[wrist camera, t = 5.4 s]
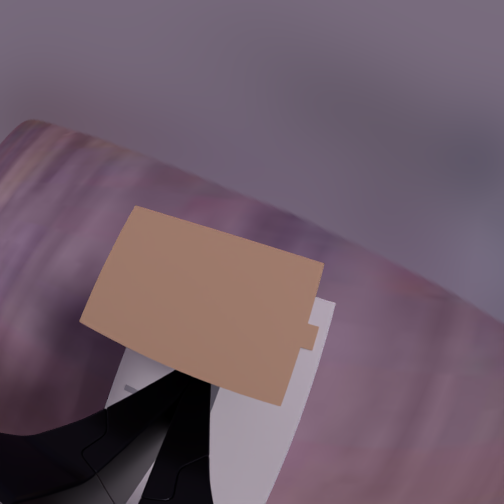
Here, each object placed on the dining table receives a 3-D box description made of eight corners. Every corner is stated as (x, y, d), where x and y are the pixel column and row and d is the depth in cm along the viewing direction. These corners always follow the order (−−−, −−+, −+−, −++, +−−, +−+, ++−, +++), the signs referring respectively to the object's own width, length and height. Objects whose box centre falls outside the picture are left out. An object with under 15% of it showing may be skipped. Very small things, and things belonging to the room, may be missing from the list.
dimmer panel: (219, 573, 9) (215, 593, 7) (89, 518, 11) (71, 531, 8) (324, 313, 17) (336, 302, 14) (178, 265, 18) (168, 248, 15)
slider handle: (264, 388, 12) (280, 406, 5) (164, 351, 13) (79, 321, 6) (286, 322, 13) (324, 263, 6) (189, 289, 14) (135, 205, 7)
